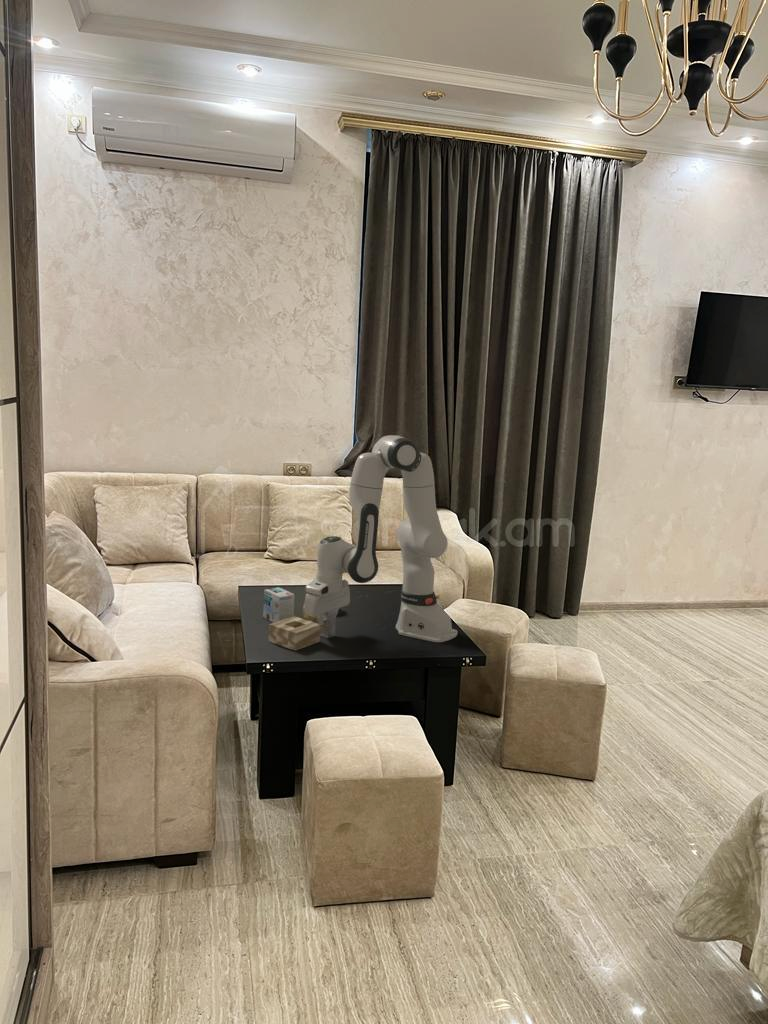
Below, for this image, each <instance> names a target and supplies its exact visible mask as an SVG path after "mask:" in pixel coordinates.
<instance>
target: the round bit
mask: <svg viewBox="0 0 768 1024" xmlns="http://www.w3.org/2000/svg"><path fill="white" fill-rule="evenodd" d="M302 604H303V605H302V619H305V620H308V621H311V622H314V623H317V624H319V619H318V617H317V616H314V617H312V616H308V615H306V613H305V603H302Z"/></svg>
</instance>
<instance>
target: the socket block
mask: <svg viewBox="0 0 768 1024" xmlns="http://www.w3.org/2000/svg"><path fill="white" fill-rule="evenodd" d="M320 640H321V636H320V624H317V623H314V622H311V621H308V620H305V619H303V618H301V617H298V616H295V615H294V616H293V617H290V618H287V619H284V620H281V621H278V622H275V623H272V622H271V623H270V624H268V642H269V643H272V644H275V645H278V646H280V647H284V648H287V649H289V650H293V651H298V650H300V649H301V650H302V649H304V648H306V647H309V646H311V645H315V644H317V643H319V642H320Z"/></svg>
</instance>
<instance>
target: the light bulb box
mask: <svg viewBox="0 0 768 1024" xmlns="http://www.w3.org/2000/svg"><path fill="white" fill-rule="evenodd" d="M295 596H296V595H295V593H293V592H290V591H289V590H286V589H284V588H282V587H273V588H267V589H264V590H263V618H264V619H265V620H267V621H269V622H271V624H272V623H275V622H278V621H281V620H284V619H287V618H290V617H293V616H295V615H294V612H295V611H294V610H295Z"/></svg>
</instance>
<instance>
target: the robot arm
mask: <svg viewBox="0 0 768 1024" xmlns="http://www.w3.org/2000/svg"><path fill="white" fill-rule="evenodd" d="M432 463H433V462H432V459H431V458H430V456H429V455H428V454H426V453H424V452H420V451H419V449H418V447H417V445H416V444H415V443H414V442H413V441H412V440H410V439H409V438H406V437H404V436H401V435H397V434H396V435H393V434H383V435H381V436H378V437H377V438H376V439H375V441H374V442H373V443H372V445H371V447H370V448H369V450H368V452H364V453H361V454H360V455H359V456H358V457H357V458H356V460H355V463H354V466H353V470H352V473H351V477H350V479H351V480H350V483H349V484H350V485H349V492H348V493H349V495H348V496H349V503H350V506H351V508H352V510H353V512H354V514H355V516H356V520H357V524H358V528H357V529H358V531H357V540H356V545H355V544H353V543H350V542H349V541H346V540H344V539H343V538H342V537H340V536H327V537H324V538H322V539H321V540H320V542H319V543H318V547H317V554H316V555H317V556H316V564H317V570H316V574H315V575H316V577H315V578H313V580H312V581H311V582H310V583H308V584H307V585H306V586H305V592H306V594H305V598H304V604H305V613H306V615H308V616H312V617H314V616H317V617H318V619H319V624H320V625H325V624H326V623H325V622H326V620H325V619H324V618H323V616H324V613H326V612H328V610H331V609H334V608H336V616H338V613H339V609H340V608H343V607H344V608H345V607H346V606H348V605H349V604H350V602H351V592H350V587H349V581H348V580H346V579H343V574H348V575H349V576H350V578H351V579H352V580H353V581H355V582H356V583H358V584H359V583H360V584H366V583H369V582H370V581H372V580H373V579H374V578H375V577H376V576H377V574H378V571H379V562H378V558H377V553H376V551H377V550H376V549H377V539H378V530H379V529H378V528H379V518H380V517H379V516H380V515H379V514H380V508H381V507H380V506H381V501H382V496H383V495H382V494H383V487H384V481H385V477H386V474H387V473H388V471H389V470H390V469H396V470H399V471H400V472H401V476H402V496H403V508H404V509H405V512H406V513H407V517H408V519H404V520H403V521H401V522H400V523H399V524H398V526H397V528H396V531H395V532H396V534H395V535H396V538H397V540H398V544H399V547H400V552H401V559H402V566H403V569H402V570H403V572H402V588H401V591H400V609H399V614H398V618H397V622H396V624H395V629H396V630H397V631H398V635H399V636H400V635H401V636H405V637H409V638H415V639H419V640H424V641H428V642H433V643H444V642H447V641H450V640H452V639H454V638H456V637H457V636H458V630H457V629H454V628H452V627H453V626H452V619H451V616H450V615H449V614H448V613H447V612H446V611H445V610H444V609H443V608H442V606H440V605H439V604H438V600H439V599H440V595H439V594H438V595H436V594H435V591H434V587H435V568H434V565H433V564H432V563H433V562H432V559H437V558H440V557H442V556H443V555H444V553H445V552H446V550H447V548H448V538H447V535H446V534H445V532H444V531H443V528H442V525H441V520H440V517H439V514H438V510H437V504H436V488H435V486H436V485H435V473H434V468H433V464H432Z"/></svg>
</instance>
